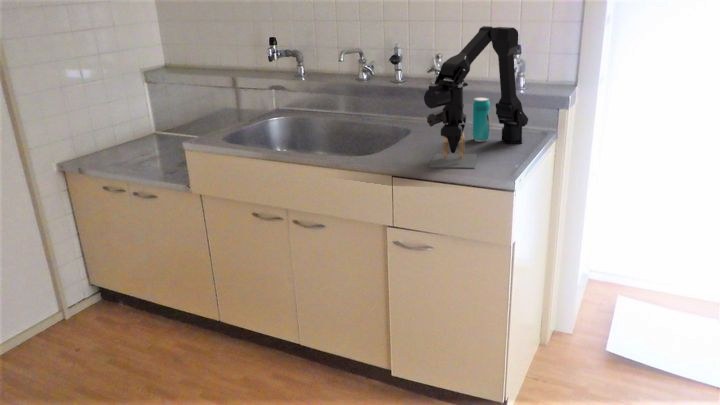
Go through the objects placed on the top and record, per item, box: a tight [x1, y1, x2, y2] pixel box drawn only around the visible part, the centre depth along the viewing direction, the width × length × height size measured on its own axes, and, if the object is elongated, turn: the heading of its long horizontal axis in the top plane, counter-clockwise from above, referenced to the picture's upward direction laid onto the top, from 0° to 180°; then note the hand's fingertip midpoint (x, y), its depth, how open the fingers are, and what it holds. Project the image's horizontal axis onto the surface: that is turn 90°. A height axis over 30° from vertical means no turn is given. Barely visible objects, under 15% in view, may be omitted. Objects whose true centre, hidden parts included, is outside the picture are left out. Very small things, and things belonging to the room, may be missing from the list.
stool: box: [442, 132, 465, 159], centre depth 193 cm, size 6×6×7 cm
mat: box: [429, 152, 478, 170], centre depth 194 cm, size 14×14×1 cm
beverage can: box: [472, 96, 491, 143], centre depth 212 cm, size 6×6×15 cm
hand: (454, 150), depth 193 cm, fingers closed on stool, 5 cm apart
